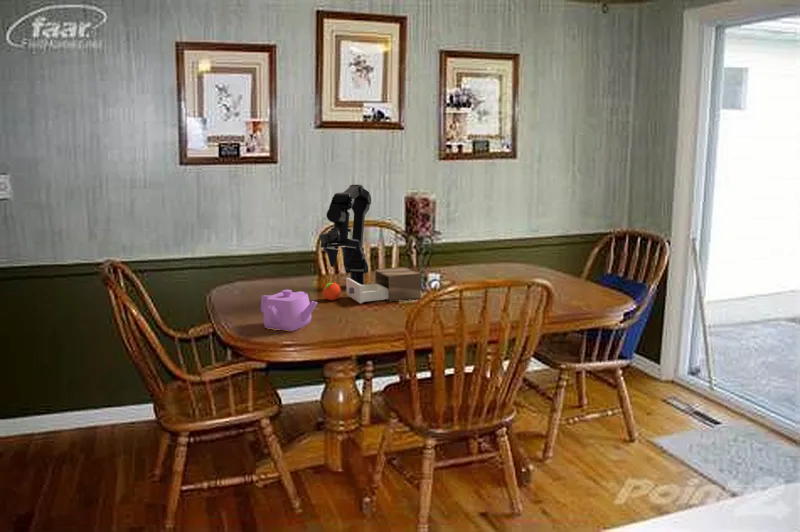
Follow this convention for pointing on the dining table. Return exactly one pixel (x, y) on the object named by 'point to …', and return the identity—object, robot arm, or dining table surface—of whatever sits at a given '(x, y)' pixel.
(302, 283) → the dining table surface
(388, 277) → the small brown cabinet
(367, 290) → the drawer
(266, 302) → the teakettle
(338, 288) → the clementine
